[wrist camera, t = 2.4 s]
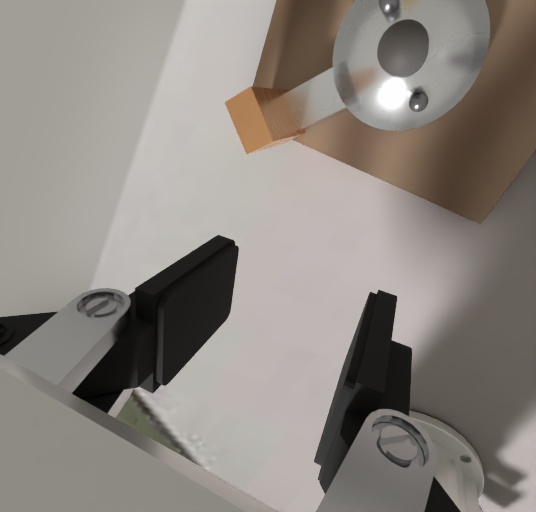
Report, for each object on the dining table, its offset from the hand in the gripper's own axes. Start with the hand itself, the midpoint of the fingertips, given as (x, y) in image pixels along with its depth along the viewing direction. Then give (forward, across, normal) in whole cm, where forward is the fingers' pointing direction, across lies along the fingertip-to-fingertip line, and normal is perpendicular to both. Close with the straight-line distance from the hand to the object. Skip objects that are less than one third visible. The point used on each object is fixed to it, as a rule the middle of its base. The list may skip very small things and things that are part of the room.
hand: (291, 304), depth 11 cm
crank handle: (+16, +2, -7) cm, 17 cm away
